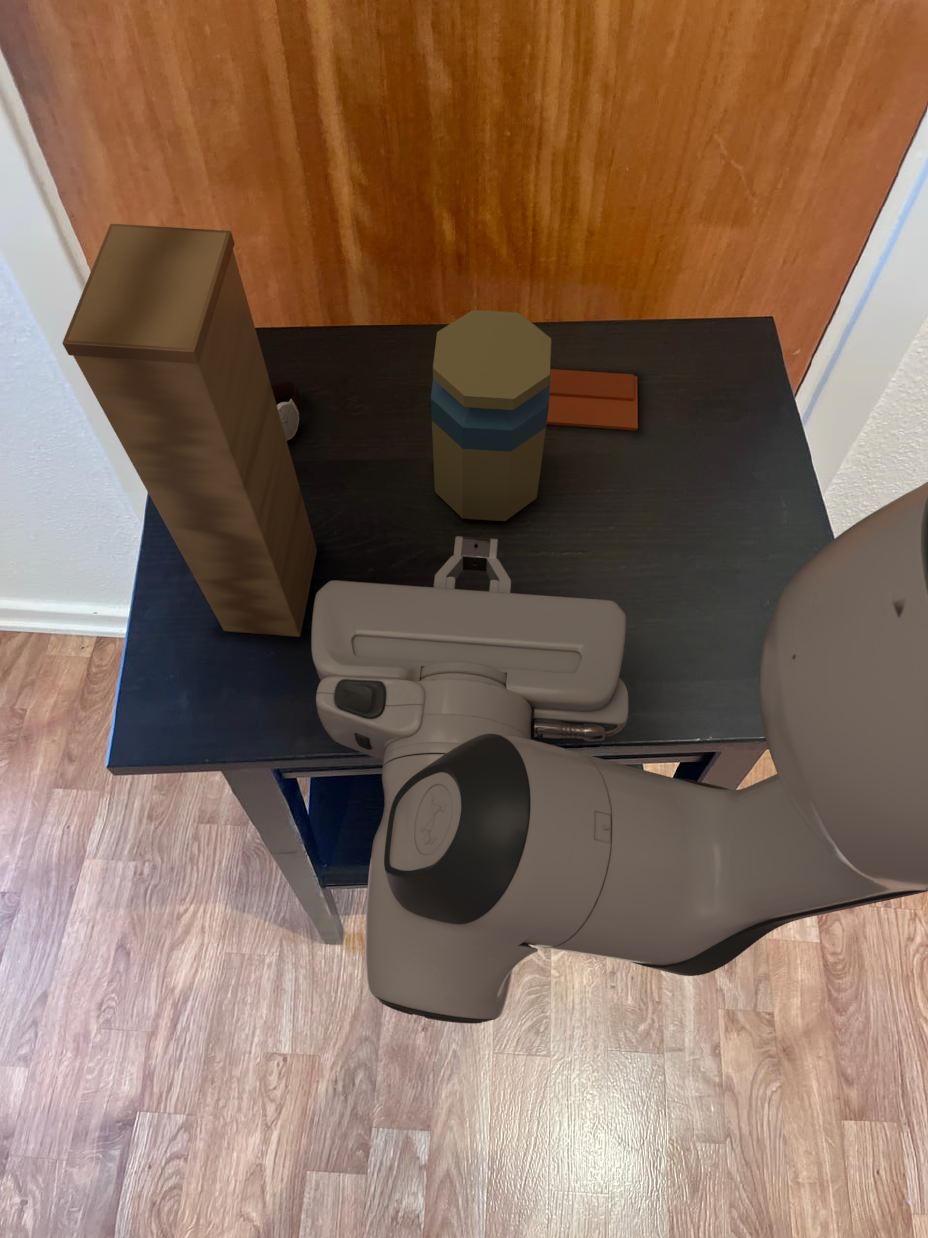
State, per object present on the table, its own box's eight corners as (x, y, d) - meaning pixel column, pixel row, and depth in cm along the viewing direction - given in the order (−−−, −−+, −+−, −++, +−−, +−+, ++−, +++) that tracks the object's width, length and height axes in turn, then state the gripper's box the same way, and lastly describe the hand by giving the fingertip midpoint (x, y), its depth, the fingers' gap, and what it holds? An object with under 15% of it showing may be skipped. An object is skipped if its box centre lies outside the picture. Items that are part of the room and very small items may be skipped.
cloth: (636, 379, 78) (638, 372, 78) (637, 430, 75) (638, 424, 75) (483, 368, 79) (483, 362, 78) (478, 419, 76) (478, 413, 75)
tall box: (318, 548, 70) (231, 230, 43) (301, 638, 66) (194, 351, 39) (243, 542, 70) (110, 222, 43) (222, 632, 66) (61, 342, 40)
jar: (462, 425, 76) (463, 289, 62) (558, 463, 74) (579, 331, 60) (413, 502, 72) (402, 374, 59) (512, 544, 70) (524, 422, 57)
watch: (270, 469, 73) (261, 442, 70) (224, 449, 74) (213, 421, 71) (317, 407, 77) (311, 378, 73) (272, 389, 78) (264, 359, 74)
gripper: (638, 726, 50) (636, 526, 56) (288, 699, 51) (325, 505, 57) (620, 760, 55) (620, 575, 62) (306, 735, 56) (338, 555, 62)
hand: (476, 541), depth 59 cm, fingers closed
